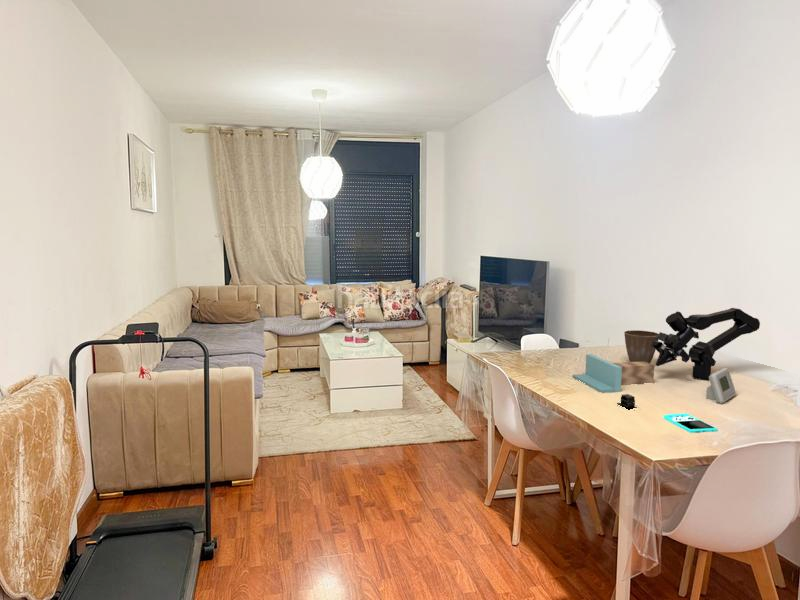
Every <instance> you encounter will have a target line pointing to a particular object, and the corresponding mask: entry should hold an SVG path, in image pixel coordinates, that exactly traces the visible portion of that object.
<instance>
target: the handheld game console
mask: <svg viewBox="0 0 800 600" xmlns="http://www.w3.org/2000/svg"><path fill="white" fill-rule="evenodd" d="M663 419H664V420H666V421H668V422H670V423H671V424H673V425H675V426H677V427H679V428H681V430H682V429H683V430H684V431H686V432H688V433H691V434H693V433H694V434H695V433H708V432H709V433H710V432H718V431H719V430H718V429H719V428H717V427H715V426H714V425H711V424H709V423H707V422H704V421H703V420H700V419H698V418H697V417H695V416H693V415H691V414H688V413H670V414H668V413H667V414H664V415H663Z"/></svg>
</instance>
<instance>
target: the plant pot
mask: <svg viewBox="0 0 800 600" xmlns="http://www.w3.org/2000/svg"><path fill="white" fill-rule="evenodd" d="M658 335H659V333H658V332H654V331H648V330H639V329H638V330H635V329H634V330H626V331H624V341H625V342H624V343H625V347H626V353H627V358H628V360H629V361H628V362H641V361H645V362H647V363H650V364H652V361H653V359H654V355H655V353H656V351H657V350H656V349H655V348H654V347H653V346H652V345H651V344H652V343H653V342H654V341H659V340H658V339H657V337H658Z"/></svg>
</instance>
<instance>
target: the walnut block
mask: <svg viewBox="0 0 800 600" xmlns="http://www.w3.org/2000/svg"><path fill="white" fill-rule="evenodd" d="M612 363H613V364H616V365H618V366H620V367H622V375H621V386H632V385H631V384H637V385H645V384H644V383H653V384H654V379H655V377H654V376H655V364H652V363H647V362H645V361H641V362H630V361H625V362H624V361H623V362H612Z"/></svg>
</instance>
